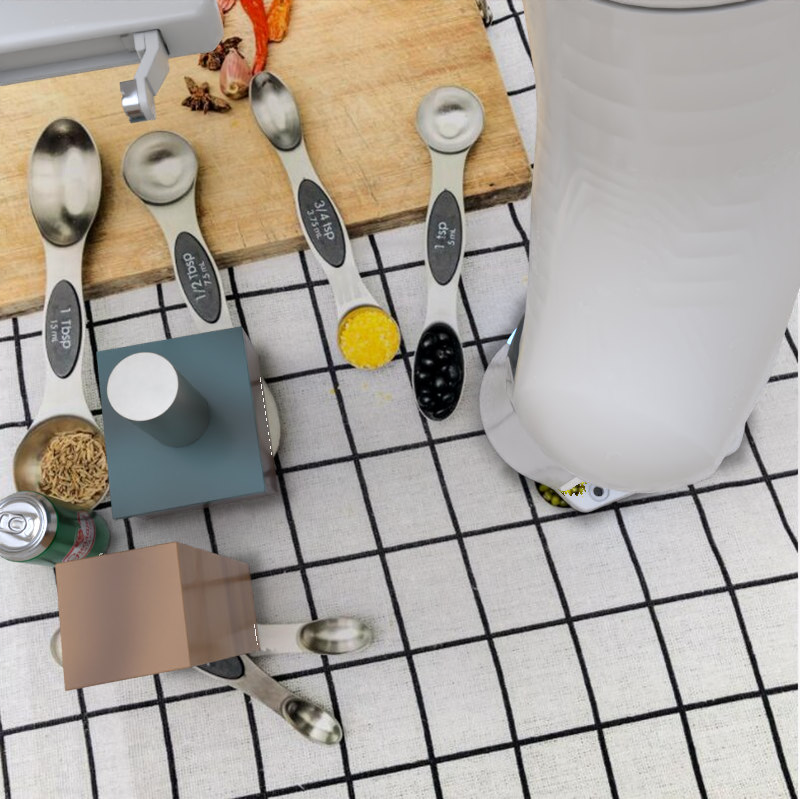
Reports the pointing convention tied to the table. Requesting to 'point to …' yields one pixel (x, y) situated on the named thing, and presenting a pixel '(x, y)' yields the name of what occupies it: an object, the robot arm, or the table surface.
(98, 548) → the soda can
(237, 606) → the stand
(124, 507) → the hatch
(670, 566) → the table surface
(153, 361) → the tin
